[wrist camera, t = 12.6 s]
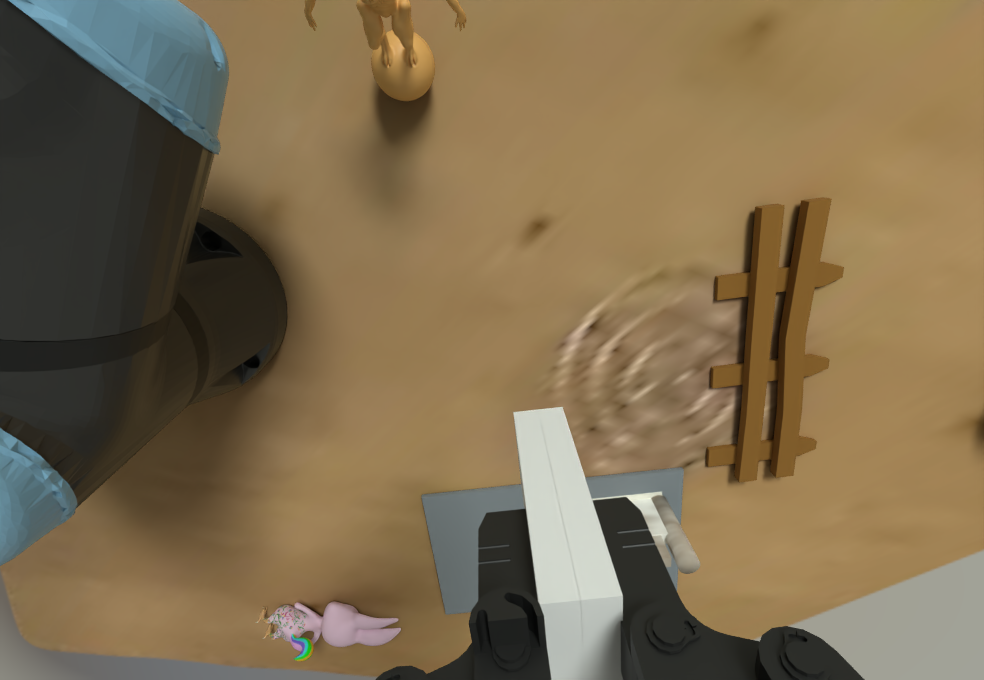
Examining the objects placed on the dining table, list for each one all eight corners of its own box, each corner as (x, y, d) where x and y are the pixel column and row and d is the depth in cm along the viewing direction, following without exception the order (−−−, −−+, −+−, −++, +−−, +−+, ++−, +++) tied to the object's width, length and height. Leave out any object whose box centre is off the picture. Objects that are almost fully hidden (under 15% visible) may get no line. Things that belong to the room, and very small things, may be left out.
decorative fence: (703, 472, 46) (806, 459, 46) (712, 485, 45) (819, 472, 44) (715, 209, 37) (845, 191, 37) (728, 213, 35) (865, 194, 35)
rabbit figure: (283, 622, 54) (409, 629, 52) (252, 677, 49) (391, 688, 46) (267, 583, 52) (399, 588, 49) (232, 635, 46) (378, 644, 44)
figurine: (349, 103, 33) (283, 82, 22) (338, -2, 31) (259, -84, 19) (469, 103, 33) (465, 82, 22) (467, -1, 31) (462, -82, 20)
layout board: (446, 611, 52) (445, 615, 51) (422, 494, 46) (421, 498, 45) (675, 587, 51) (677, 591, 51) (681, 467, 45) (684, 470, 45)
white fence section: (547, 522, 47) (562, 604, 39) (546, 503, 46) (561, 582, 38) (666, 510, 47) (706, 589, 39) (666, 490, 46) (708, 567, 38)
